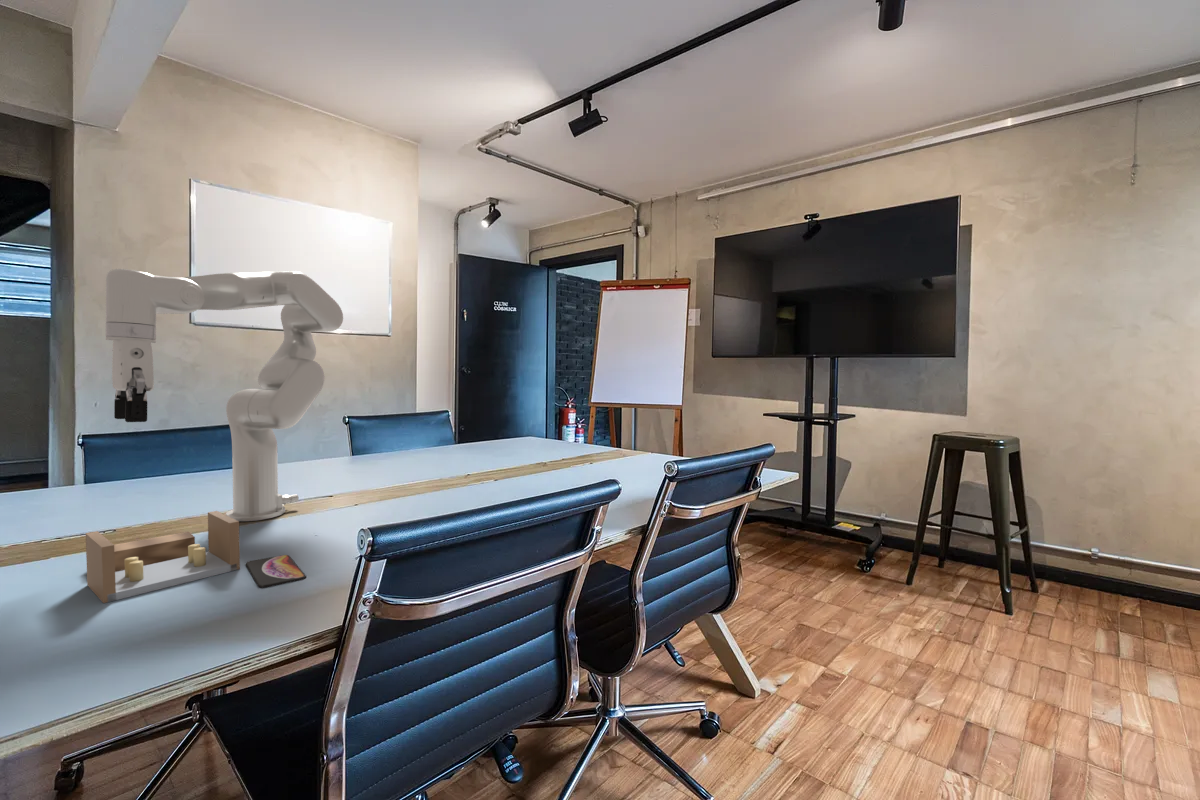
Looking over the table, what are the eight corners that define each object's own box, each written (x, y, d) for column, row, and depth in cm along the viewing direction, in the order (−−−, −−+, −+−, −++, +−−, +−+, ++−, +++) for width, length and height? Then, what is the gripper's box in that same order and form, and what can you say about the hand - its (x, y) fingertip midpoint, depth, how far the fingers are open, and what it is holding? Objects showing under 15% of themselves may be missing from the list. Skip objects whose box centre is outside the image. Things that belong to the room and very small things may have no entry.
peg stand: (217, 555, 107) (216, 510, 106) (239, 568, 100) (239, 521, 100) (87, 585, 92) (85, 533, 91) (103, 603, 85) (101, 547, 85)
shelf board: (188, 550, 110) (188, 531, 110) (195, 556, 107) (194, 536, 107) (95, 569, 100) (94, 548, 99) (99, 576, 96) (98, 554, 96)
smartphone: (288, 553, 108) (307, 576, 97) (288, 557, 108) (307, 581, 97) (244, 561, 103) (259, 586, 92) (244, 565, 103) (259, 591, 92)
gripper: (166, 334, 104) (165, 422, 105) (145, 337, 115) (144, 417, 115) (115, 330, 98) (114, 424, 99) (97, 333, 109) (96, 418, 110)
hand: (130, 420), depth 107 cm, fingers open, 9 cm apart
